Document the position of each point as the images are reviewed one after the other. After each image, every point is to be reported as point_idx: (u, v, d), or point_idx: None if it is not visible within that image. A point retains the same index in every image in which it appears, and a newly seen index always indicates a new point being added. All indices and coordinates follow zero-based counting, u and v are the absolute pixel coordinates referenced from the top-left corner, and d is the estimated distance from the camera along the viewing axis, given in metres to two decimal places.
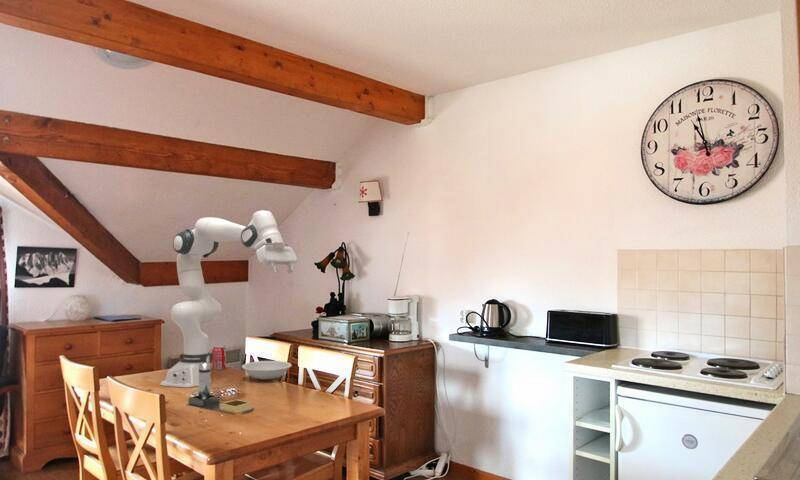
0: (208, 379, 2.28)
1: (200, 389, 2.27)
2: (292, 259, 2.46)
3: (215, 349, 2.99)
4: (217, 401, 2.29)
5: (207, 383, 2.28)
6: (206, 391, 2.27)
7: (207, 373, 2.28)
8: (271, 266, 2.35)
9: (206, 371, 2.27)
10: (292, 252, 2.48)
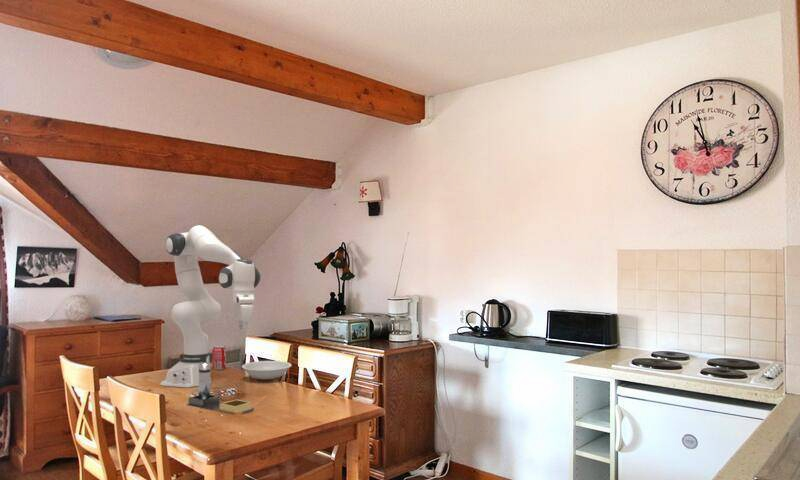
0: (208, 379, 2.28)
1: (200, 389, 2.27)
2: None
3: (215, 349, 2.99)
4: (217, 401, 2.29)
5: (207, 383, 2.28)
6: (206, 391, 2.27)
7: (207, 373, 2.28)
8: (245, 325, 2.33)
9: (206, 371, 2.27)
10: None
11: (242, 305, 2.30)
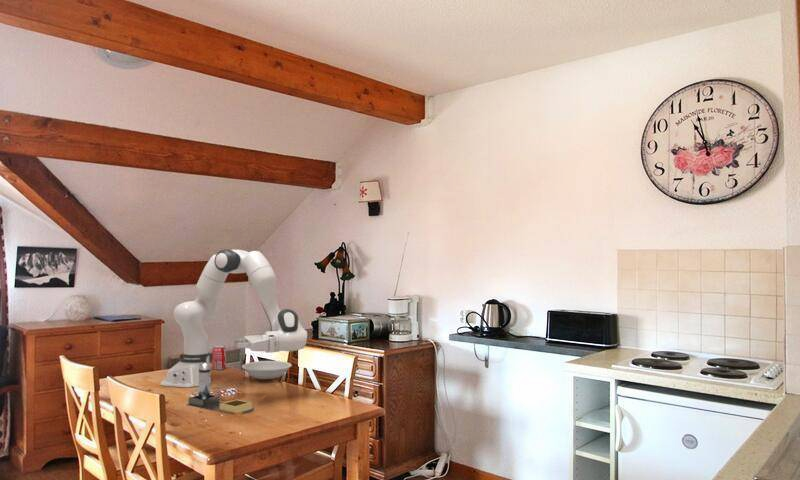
0: (208, 379, 2.28)
1: (200, 389, 2.27)
2: None
3: (215, 349, 2.99)
4: (217, 401, 2.29)
5: (207, 383, 2.28)
6: (206, 391, 2.27)
7: (207, 373, 2.28)
8: (245, 346, 2.30)
9: (206, 371, 2.27)
10: None
11: (267, 340, 2.31)
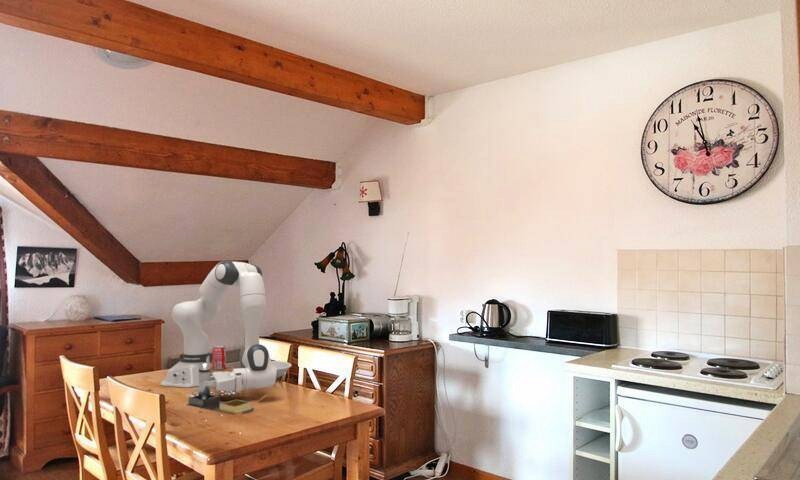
0: (208, 379, 2.28)
1: (200, 389, 2.27)
2: None
3: (215, 349, 2.99)
4: (217, 401, 2.29)
5: None
6: (206, 391, 2.27)
7: (207, 373, 2.28)
8: (210, 384, 2.26)
9: (206, 371, 2.27)
10: None
11: (234, 379, 2.25)
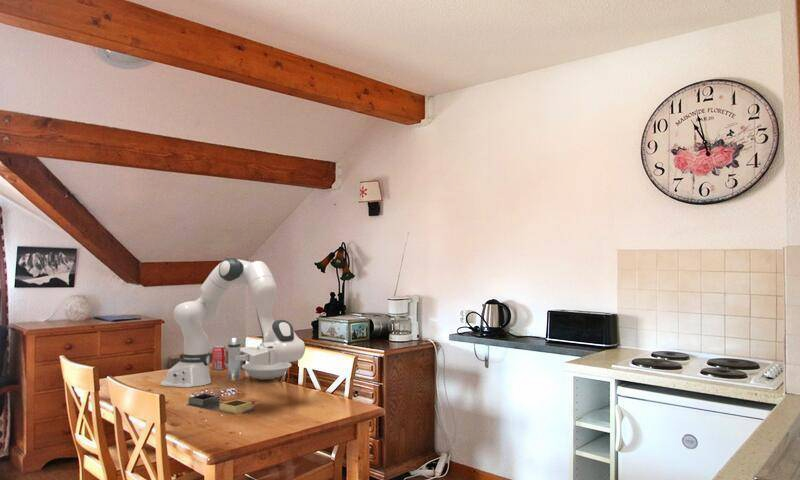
0: (239, 354, 2.20)
1: (231, 364, 2.19)
2: None
3: (215, 349, 2.99)
4: (217, 401, 2.29)
5: None
6: (237, 367, 2.19)
7: (238, 347, 2.20)
8: (242, 358, 2.18)
9: (237, 346, 2.19)
10: None
11: (268, 352, 2.19)
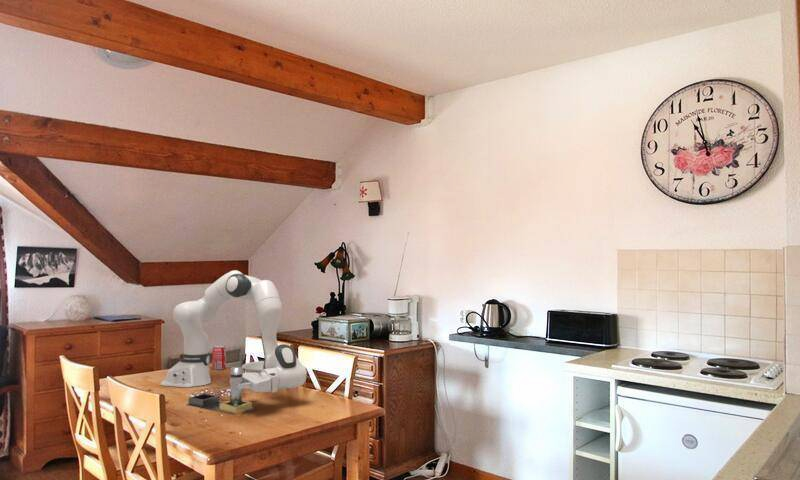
0: None
1: (233, 395, 2.18)
2: None
3: (215, 349, 2.99)
4: (217, 401, 2.29)
5: None
6: (239, 397, 2.19)
7: (240, 377, 2.19)
8: (246, 386, 2.16)
9: (239, 376, 2.19)
10: None
11: (270, 380, 2.19)
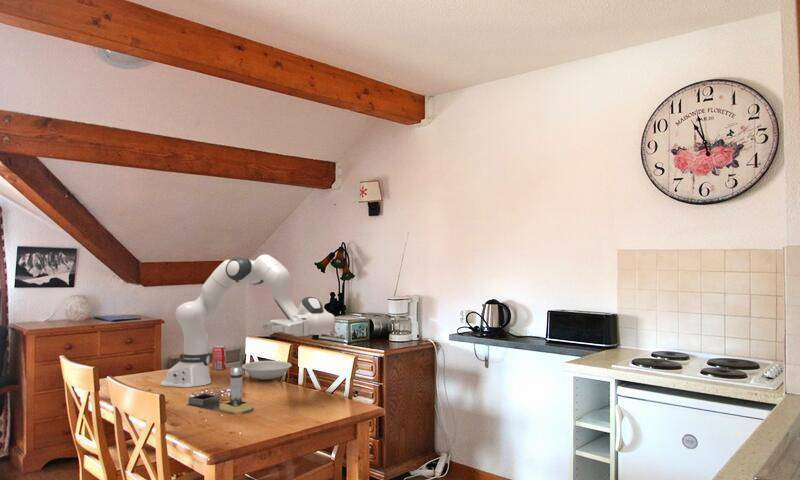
0: (241, 384, 2.19)
1: (233, 395, 2.18)
2: None
3: (215, 349, 2.99)
4: (217, 401, 2.29)
5: (240, 389, 2.19)
6: (239, 397, 2.19)
7: (240, 378, 2.19)
8: (279, 329, 2.24)
9: (239, 376, 2.19)
10: None
11: (302, 323, 2.27)
